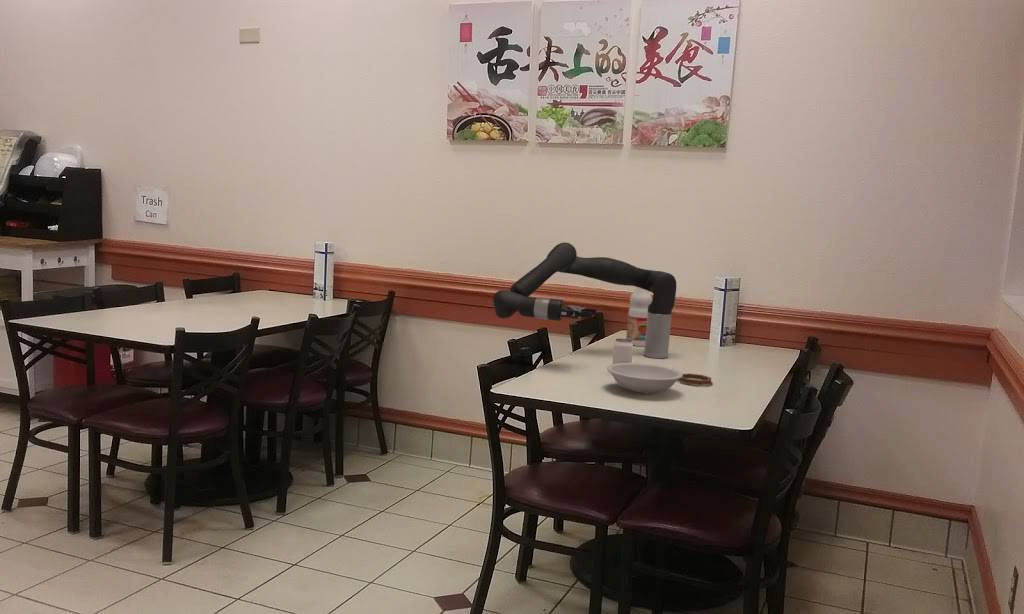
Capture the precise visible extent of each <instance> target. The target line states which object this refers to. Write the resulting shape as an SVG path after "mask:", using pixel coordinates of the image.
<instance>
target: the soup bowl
mask: <svg viewBox="0 0 1024 614" xmlns="http://www.w3.org/2000/svg"><path fill="white" fill-rule="evenodd" d="M606 370H607V371H608V372H609V373H611V376H612V378H613V379H614V380H615V382H617V384H618V385H620V387H623V389H626V390H629V391H633V392H638V393H644V394H645V393H650V394H653V393H660V392H664V391H666V390H668V389H670V388H671V387H673V386H674V385H675V383H677V379H680V378H682V377H683V374H684V373H683V372H681V371H680V370H677V369H674V368H671V367H667V366H664V365H658V364H651V363H644V362H643V363H642V362H641V363H640V362H639V363H638V362H632V363H618V364H613V363H612V364H609V365H607V366H606Z"/></svg>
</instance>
